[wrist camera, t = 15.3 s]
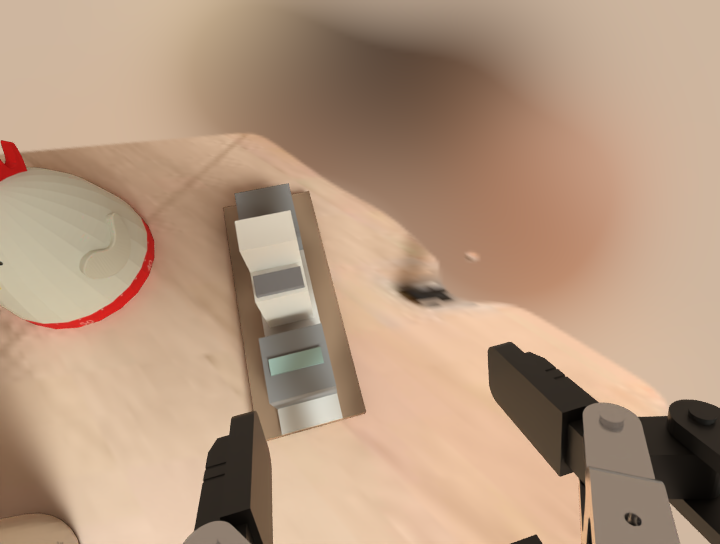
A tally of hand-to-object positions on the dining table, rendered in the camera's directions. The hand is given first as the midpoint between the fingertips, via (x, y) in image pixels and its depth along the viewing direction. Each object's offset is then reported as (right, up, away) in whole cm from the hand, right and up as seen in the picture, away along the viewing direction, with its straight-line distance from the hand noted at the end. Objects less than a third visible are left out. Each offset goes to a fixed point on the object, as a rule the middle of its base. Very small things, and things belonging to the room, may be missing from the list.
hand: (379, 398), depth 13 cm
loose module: (-7, +2, +23) cm, 25 cm away
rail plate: (-7, +1, +25) cm, 26 cm away
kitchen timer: (-28, +5, +27) cm, 39 cm away
